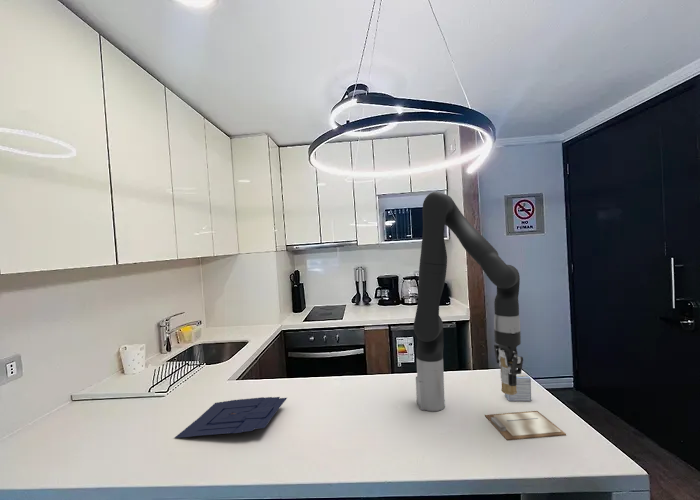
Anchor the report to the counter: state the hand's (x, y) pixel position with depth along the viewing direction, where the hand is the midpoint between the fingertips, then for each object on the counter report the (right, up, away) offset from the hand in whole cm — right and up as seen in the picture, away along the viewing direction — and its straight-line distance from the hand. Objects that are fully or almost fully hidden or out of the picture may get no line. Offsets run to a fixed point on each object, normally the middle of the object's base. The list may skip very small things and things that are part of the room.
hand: (508, 381), depth 109 cm
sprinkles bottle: (0, -3, 0) cm, 3 cm away
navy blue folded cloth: (-89, -17, +9) cm, 91 cm away
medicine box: (+11, -12, +16) cm, 23 cm away
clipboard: (+4, -13, -1) cm, 14 cm away
